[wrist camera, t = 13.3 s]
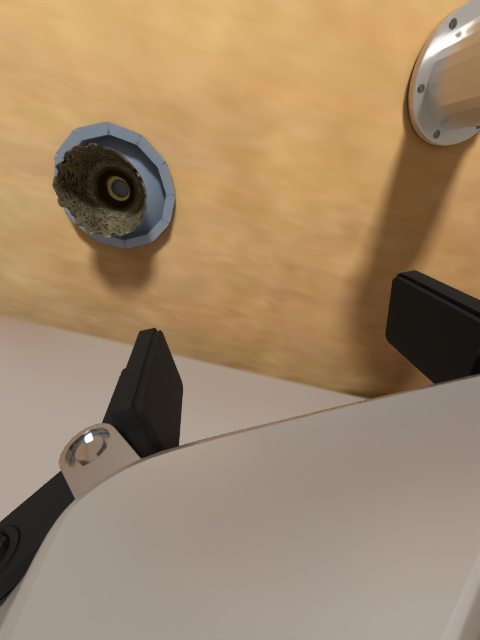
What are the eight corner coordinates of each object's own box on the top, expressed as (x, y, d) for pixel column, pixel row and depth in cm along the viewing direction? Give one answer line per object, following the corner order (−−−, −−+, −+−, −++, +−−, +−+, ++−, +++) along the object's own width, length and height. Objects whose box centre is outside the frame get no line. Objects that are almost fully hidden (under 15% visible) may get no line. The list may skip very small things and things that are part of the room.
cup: (67, 166, 28) (30, 166, 21) (130, 136, 28) (112, 126, 21) (111, 233, 32) (91, 251, 25) (166, 207, 32) (161, 218, 25)
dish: (153, 115, 28) (151, 111, 26) (187, 230, 34) (187, 234, 32) (40, 141, 27) (29, 138, 26) (94, 253, 33) (89, 258, 32)
